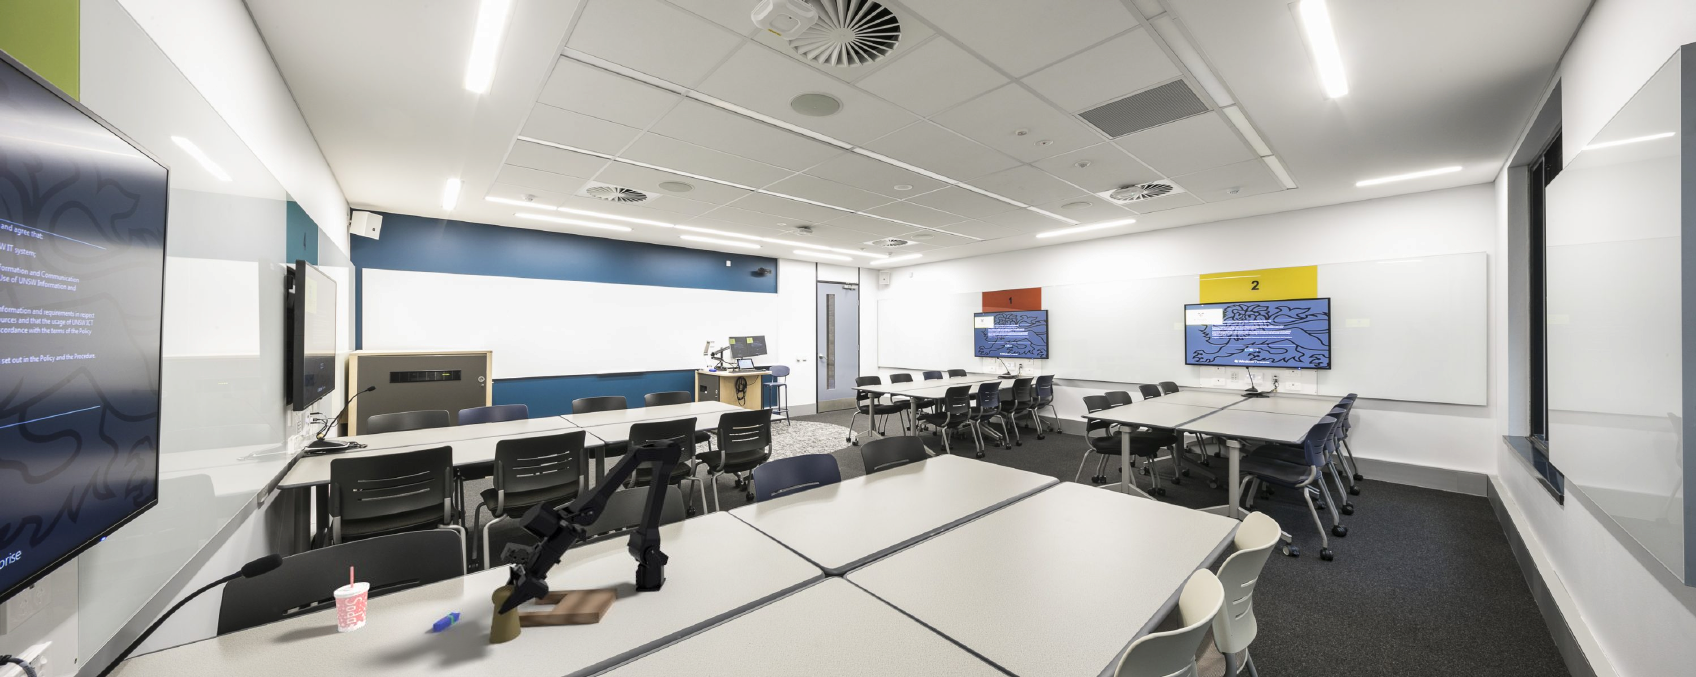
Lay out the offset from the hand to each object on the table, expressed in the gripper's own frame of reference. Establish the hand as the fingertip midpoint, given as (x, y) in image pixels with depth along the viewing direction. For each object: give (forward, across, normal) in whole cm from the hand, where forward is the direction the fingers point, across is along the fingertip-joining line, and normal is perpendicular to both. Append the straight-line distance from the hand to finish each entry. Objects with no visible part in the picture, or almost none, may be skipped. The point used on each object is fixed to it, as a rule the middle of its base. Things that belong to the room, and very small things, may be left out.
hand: (498, 608), depth 118 cm
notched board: (-6, -3, +15) cm, 16 cm away
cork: (+4, 0, +6) cm, 7 cm away
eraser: (+11, -14, -1) cm, 18 cm away
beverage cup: (+23, -27, -14) cm, 38 cm away
